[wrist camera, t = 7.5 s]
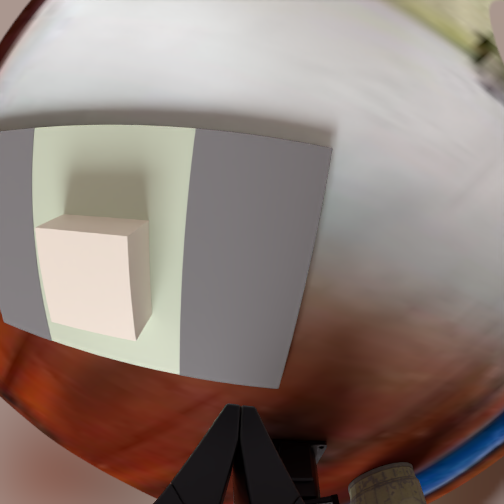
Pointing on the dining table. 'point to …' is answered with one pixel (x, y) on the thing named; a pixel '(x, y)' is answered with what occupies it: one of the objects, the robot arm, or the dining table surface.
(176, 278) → the board
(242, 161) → the mats
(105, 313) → the cream block
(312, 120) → the dining table surface
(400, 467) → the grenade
